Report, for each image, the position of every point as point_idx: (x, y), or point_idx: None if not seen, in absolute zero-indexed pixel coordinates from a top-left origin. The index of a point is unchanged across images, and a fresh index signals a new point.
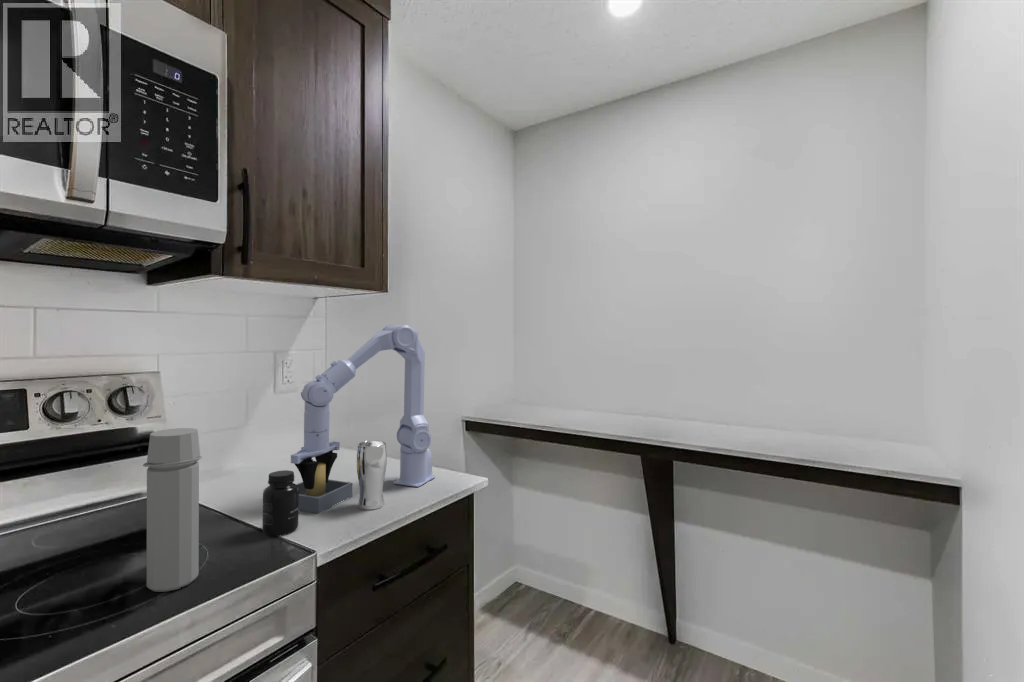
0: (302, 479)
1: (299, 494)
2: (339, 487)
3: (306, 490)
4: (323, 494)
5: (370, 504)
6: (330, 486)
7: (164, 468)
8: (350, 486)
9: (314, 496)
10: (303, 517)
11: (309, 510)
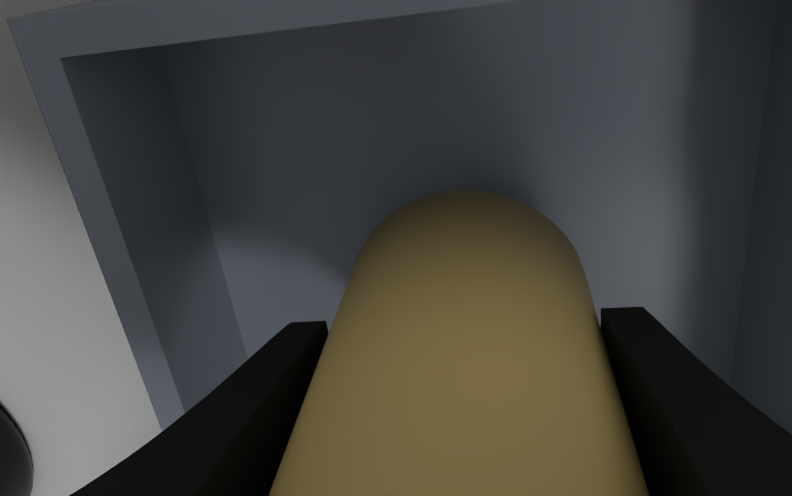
0: (208, 400)
1: (158, 367)
2: (761, 406)
3: (350, 278)
4: (643, 220)
5: None
6: (778, 277)
7: None
8: None
9: (535, 181)
10: (149, 418)
11: None
